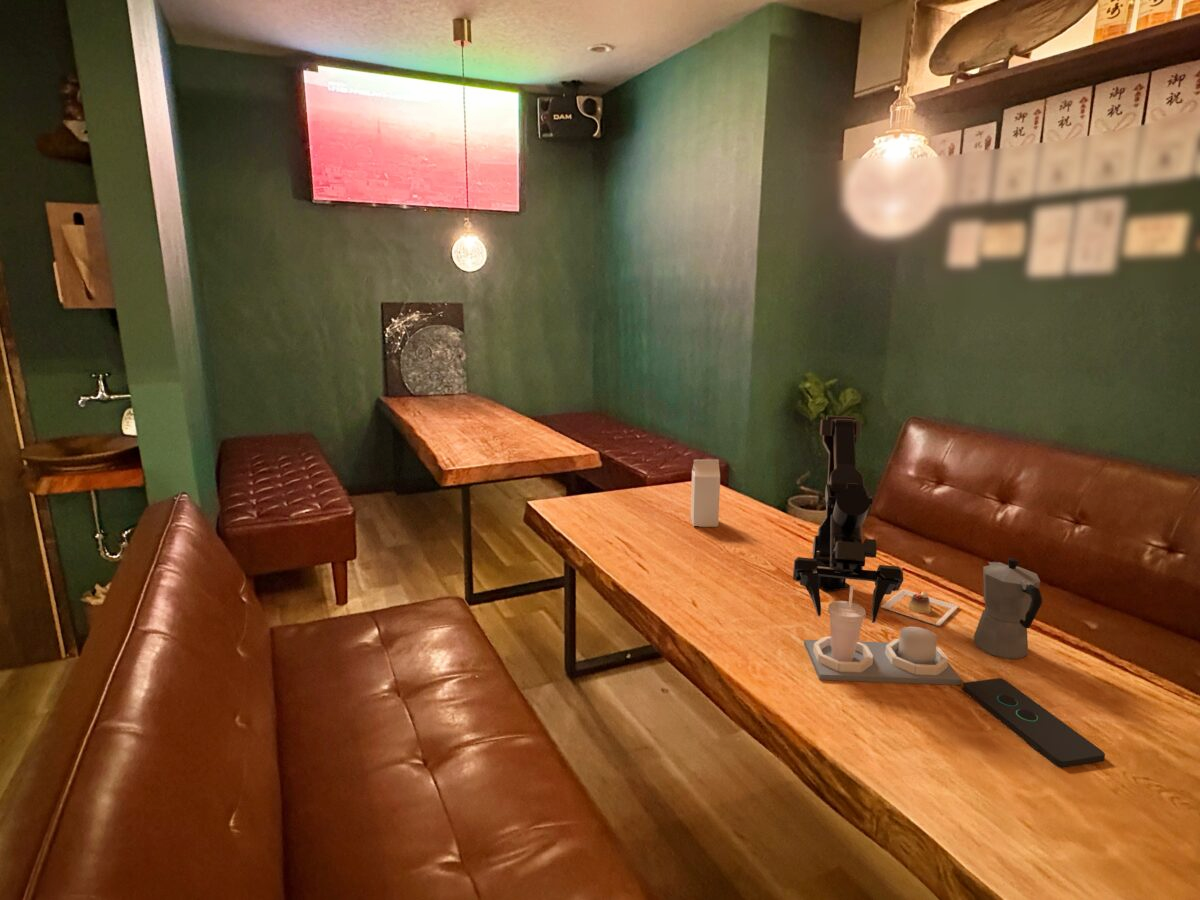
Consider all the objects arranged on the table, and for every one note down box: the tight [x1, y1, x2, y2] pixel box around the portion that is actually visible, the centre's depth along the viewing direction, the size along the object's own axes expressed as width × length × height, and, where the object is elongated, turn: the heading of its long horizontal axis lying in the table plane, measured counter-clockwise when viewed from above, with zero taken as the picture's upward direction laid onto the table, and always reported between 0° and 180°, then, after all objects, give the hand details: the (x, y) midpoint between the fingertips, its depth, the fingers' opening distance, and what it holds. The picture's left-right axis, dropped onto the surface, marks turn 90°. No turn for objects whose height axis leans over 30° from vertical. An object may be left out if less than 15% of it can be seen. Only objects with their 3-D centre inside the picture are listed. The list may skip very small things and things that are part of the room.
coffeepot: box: [973, 557, 1043, 660], centre depth 125 cm, size 15×9×18 cm, turn 179°
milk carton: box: [690, 459, 721, 528], centre depth 193 cm, size 7×7×19 cm
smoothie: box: [827, 584, 867, 662], centre depth 121 cm, size 6×6×14 cm
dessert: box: [880, 588, 960, 627], centre depth 143 cm, size 12×12×5 cm
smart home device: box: [962, 677, 1106, 769], centre depth 106 cm, size 8×2×20 cm
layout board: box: [803, 626, 963, 686], centre depth 122 cm, size 24×12×6 cm, turn 86°
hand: (846, 618), depth 120 cm, fingers open, 9 cm apart
